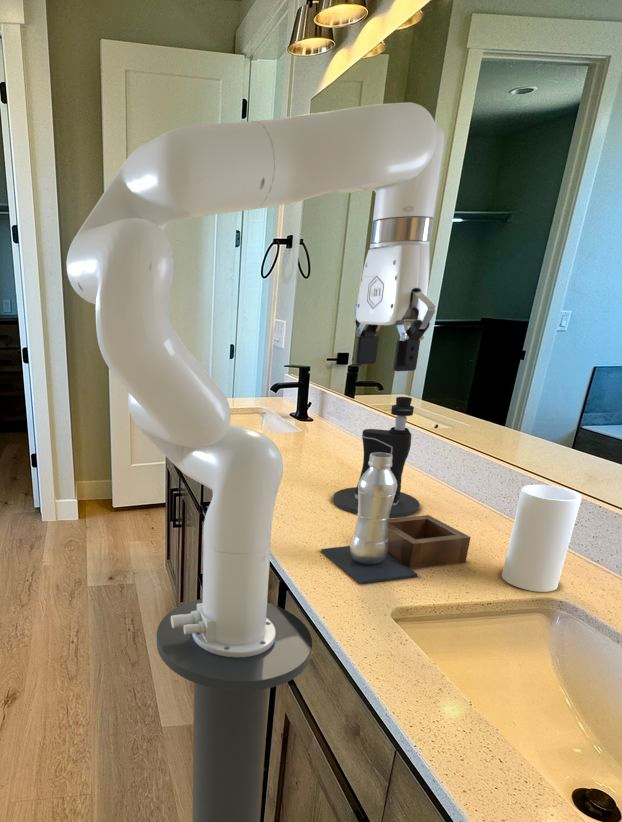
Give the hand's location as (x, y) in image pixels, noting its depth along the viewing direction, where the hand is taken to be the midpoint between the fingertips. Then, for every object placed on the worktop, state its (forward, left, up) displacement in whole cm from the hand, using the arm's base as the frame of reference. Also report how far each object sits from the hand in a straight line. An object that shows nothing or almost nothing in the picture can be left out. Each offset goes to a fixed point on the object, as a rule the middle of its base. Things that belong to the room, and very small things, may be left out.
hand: (383, 366), depth 83 cm
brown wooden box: (+19, +10, -36) cm, 42 cm away
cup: (+30, -5, -36) cm, 48 cm away
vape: (+27, +37, -36) cm, 59 cm away
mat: (+7, +8, -36) cm, 38 cm away
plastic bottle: (+7, +8, -36) cm, 37 cm away
